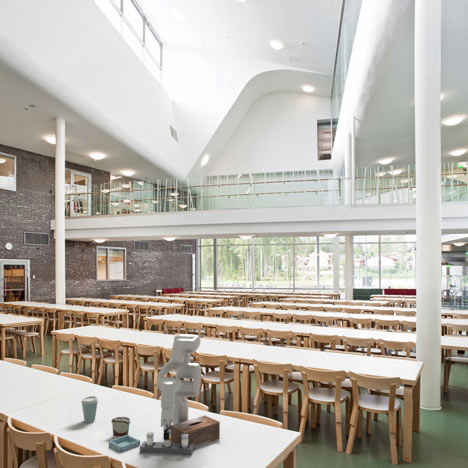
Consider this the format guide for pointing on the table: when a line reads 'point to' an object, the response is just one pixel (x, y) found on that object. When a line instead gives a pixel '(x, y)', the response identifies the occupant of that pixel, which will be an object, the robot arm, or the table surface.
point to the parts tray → (124, 443)
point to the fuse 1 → (150, 439)
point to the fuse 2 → (184, 440)
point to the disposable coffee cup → (89, 408)
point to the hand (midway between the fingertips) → (167, 437)
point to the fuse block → (160, 449)
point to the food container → (120, 426)
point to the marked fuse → (168, 442)
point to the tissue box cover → (196, 430)
